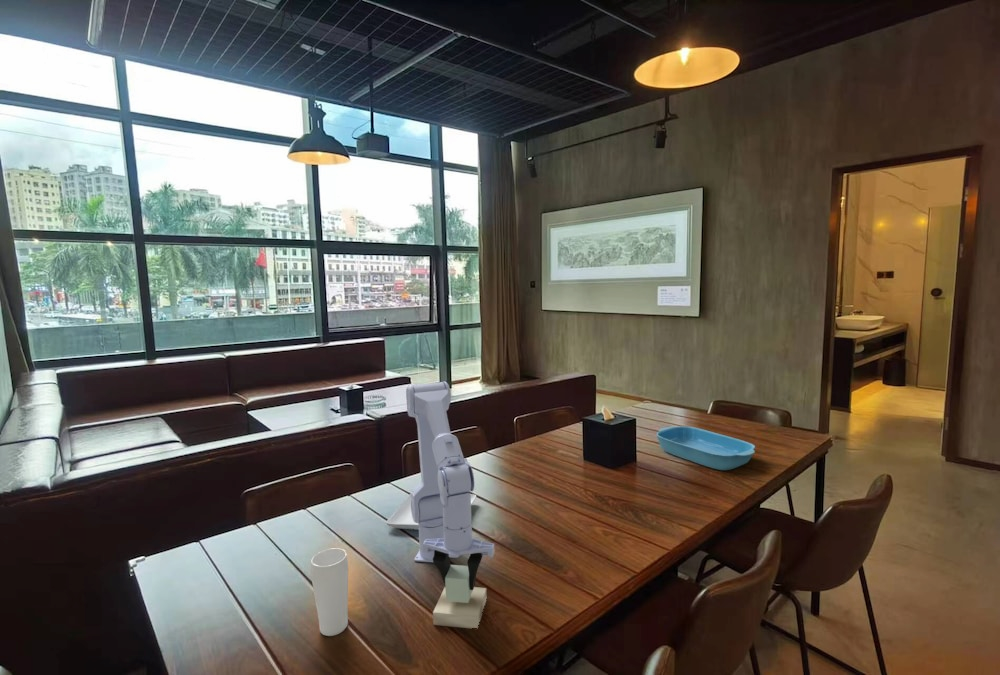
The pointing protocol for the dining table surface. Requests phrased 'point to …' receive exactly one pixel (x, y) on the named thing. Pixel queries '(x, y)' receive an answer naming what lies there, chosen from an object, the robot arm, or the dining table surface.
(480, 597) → the birch base
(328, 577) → the drinking glass
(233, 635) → the dining table surface
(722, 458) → the casserole dish
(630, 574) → the dining table surface
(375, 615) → the dining table surface
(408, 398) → the robot arm
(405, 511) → the salad plate
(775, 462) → the dining table surface
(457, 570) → the sage block
